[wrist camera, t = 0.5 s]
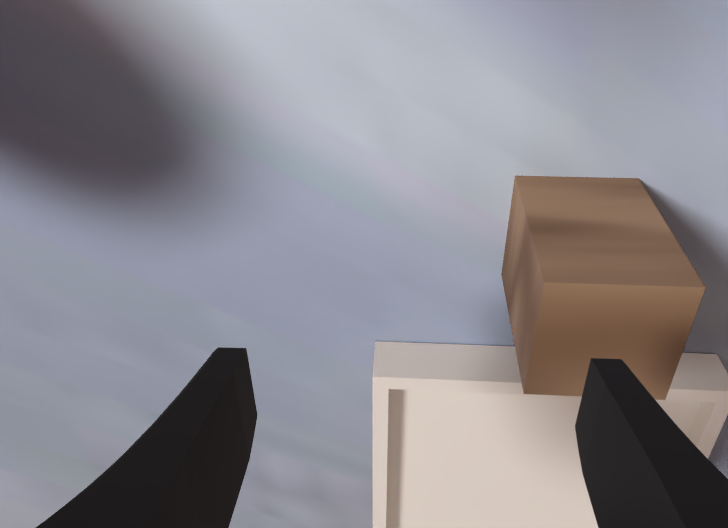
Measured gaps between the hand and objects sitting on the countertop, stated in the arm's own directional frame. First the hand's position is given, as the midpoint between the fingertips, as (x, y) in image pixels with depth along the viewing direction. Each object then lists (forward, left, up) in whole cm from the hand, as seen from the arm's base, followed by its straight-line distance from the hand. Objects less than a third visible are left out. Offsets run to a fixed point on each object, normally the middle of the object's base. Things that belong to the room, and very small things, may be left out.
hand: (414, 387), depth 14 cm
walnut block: (-2, -5, -10) cm, 11 cm away
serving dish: (-14, -5, -10) cm, 18 cm away
